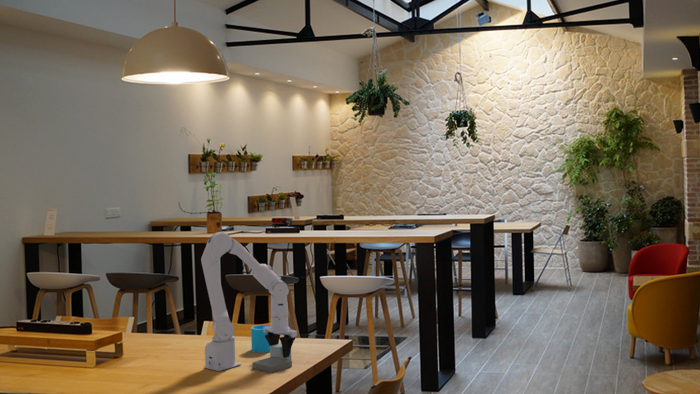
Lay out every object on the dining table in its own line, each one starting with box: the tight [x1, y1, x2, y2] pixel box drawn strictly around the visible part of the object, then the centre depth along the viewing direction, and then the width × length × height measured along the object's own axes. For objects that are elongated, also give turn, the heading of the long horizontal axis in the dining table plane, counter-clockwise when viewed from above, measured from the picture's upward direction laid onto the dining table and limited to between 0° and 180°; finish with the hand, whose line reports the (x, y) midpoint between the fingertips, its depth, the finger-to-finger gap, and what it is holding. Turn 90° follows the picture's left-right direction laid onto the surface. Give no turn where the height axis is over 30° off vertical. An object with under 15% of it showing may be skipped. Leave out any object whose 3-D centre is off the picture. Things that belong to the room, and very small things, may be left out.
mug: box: [250, 324, 271, 353], centre depth 243 cm, size 12×8×8 cm
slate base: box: [251, 356, 293, 374], centre depth 216 cm, size 9×9×2 cm
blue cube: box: [269, 342, 292, 360], centre depth 225 cm, size 5×5×5 cm
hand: (280, 356), depth 225 cm, fingers closed on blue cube, 5 cm apart
